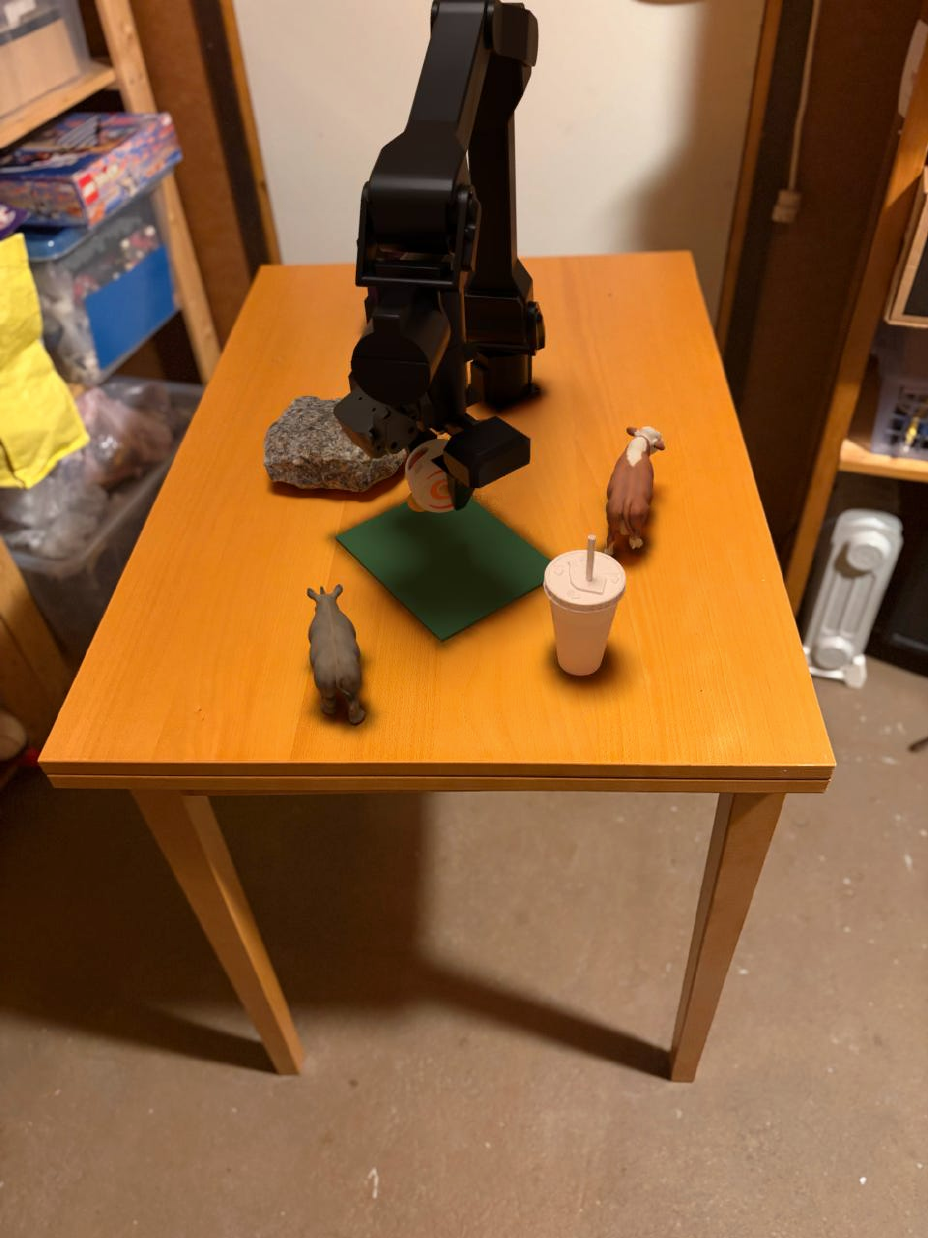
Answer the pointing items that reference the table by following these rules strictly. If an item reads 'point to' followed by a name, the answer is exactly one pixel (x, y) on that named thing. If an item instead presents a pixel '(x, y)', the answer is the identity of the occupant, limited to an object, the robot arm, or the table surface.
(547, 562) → the cloth
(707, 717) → the table surface
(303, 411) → the rock
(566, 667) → the smoothie
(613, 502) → the bull figurine
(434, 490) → the roller toy
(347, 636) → the rhino figurine
